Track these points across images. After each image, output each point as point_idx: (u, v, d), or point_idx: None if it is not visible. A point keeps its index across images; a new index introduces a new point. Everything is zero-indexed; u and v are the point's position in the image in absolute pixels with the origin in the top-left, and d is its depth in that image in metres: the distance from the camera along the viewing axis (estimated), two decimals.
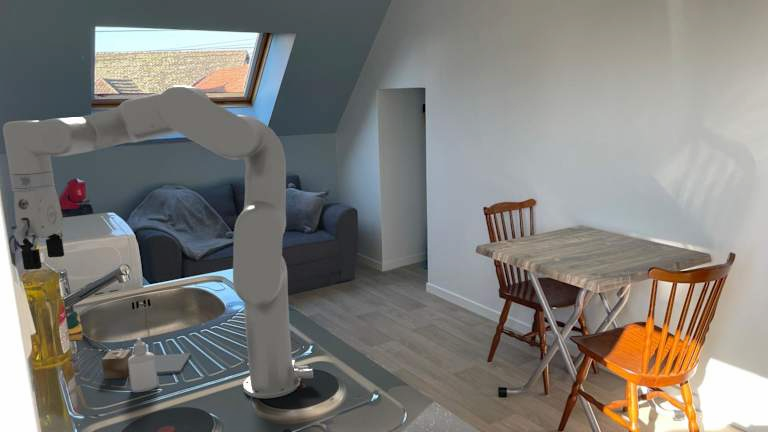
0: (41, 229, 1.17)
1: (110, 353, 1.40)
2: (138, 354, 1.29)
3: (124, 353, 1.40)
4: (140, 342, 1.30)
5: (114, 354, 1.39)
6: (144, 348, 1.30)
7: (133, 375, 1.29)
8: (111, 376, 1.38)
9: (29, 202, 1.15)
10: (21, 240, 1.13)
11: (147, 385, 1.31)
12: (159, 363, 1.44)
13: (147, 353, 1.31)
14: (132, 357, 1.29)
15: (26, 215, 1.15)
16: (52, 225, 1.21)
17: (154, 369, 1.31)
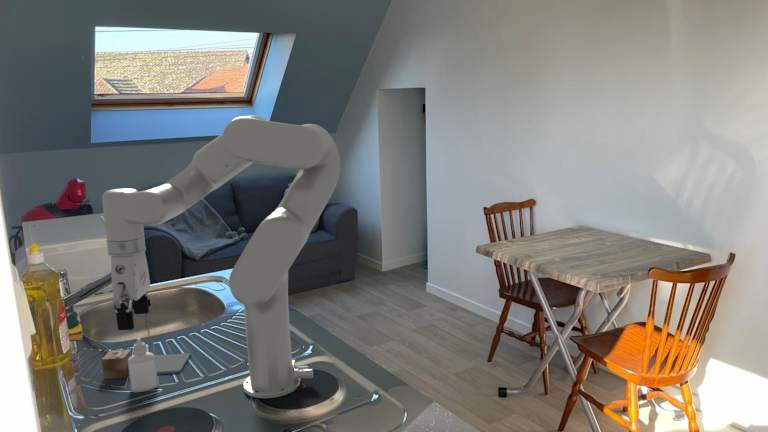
0: (135, 292, 1.23)
1: (110, 353, 1.40)
2: (138, 354, 1.29)
3: (124, 353, 1.40)
4: (140, 342, 1.30)
5: (114, 354, 1.39)
6: (144, 348, 1.30)
7: (133, 375, 1.29)
8: (111, 376, 1.38)
9: (125, 267, 1.22)
10: (119, 304, 1.20)
11: (147, 385, 1.31)
12: (159, 363, 1.44)
13: (147, 353, 1.31)
14: (132, 357, 1.29)
15: (122, 280, 1.22)
16: (143, 287, 1.27)
17: (154, 369, 1.31)
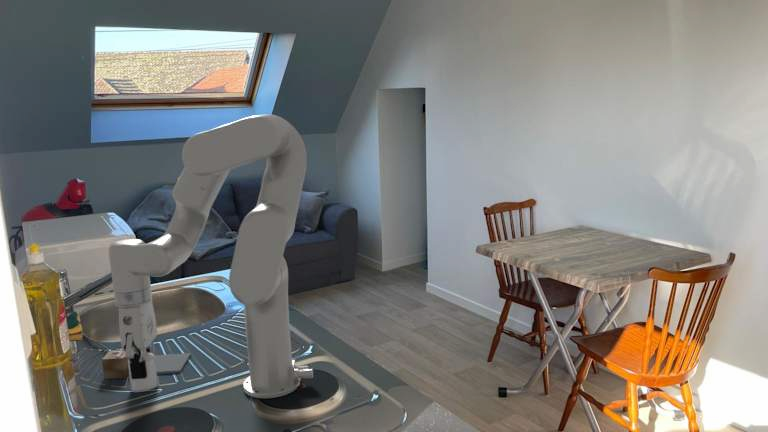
0: (143, 342, 1.25)
1: (110, 353, 1.40)
2: (138, 354, 1.29)
3: (124, 353, 1.40)
4: None
5: (114, 354, 1.39)
6: None
7: None
8: (111, 376, 1.38)
9: (133, 318, 1.24)
10: (132, 358, 1.25)
11: (147, 385, 1.31)
12: (159, 363, 1.44)
13: (147, 353, 1.31)
14: None
15: (130, 330, 1.24)
16: (150, 335, 1.29)
17: (154, 369, 1.31)
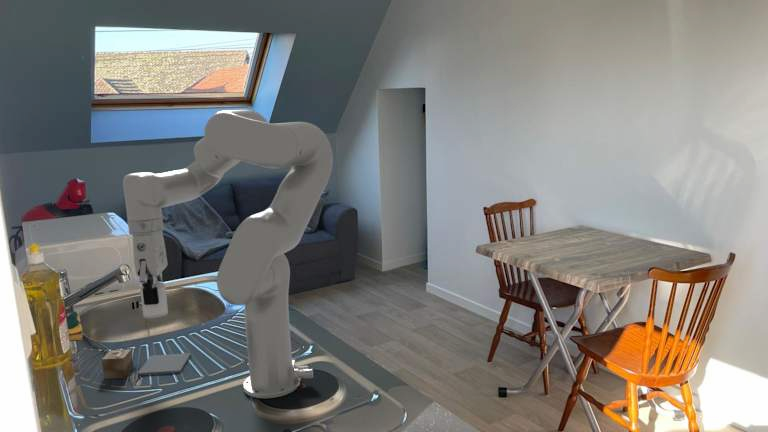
0: (156, 268, 1.33)
1: (110, 353, 1.40)
2: None
3: (124, 353, 1.40)
4: None
5: (114, 354, 1.39)
6: (155, 276, 1.38)
7: None
8: (111, 376, 1.38)
9: (146, 245, 1.32)
10: (146, 283, 1.33)
11: (158, 311, 1.38)
12: (159, 363, 1.44)
13: (158, 281, 1.39)
14: None
15: (144, 256, 1.32)
16: (162, 263, 1.37)
17: (165, 297, 1.39)
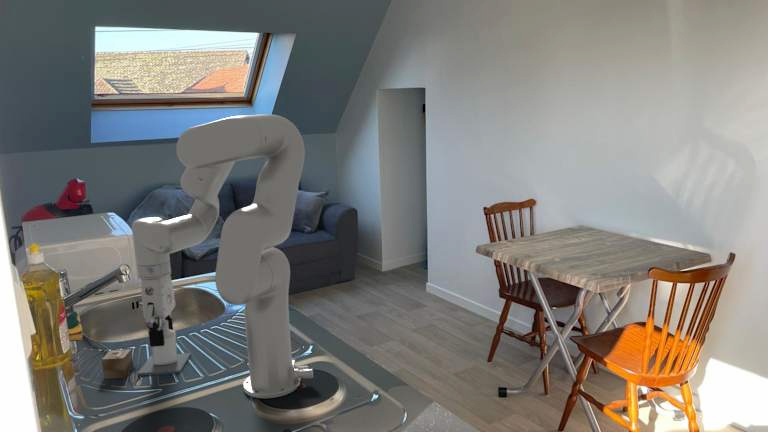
0: (163, 311, 1.37)
1: (110, 353, 1.40)
2: None
3: (124, 353, 1.40)
4: (163, 320, 1.41)
5: (114, 354, 1.39)
6: (167, 325, 1.41)
7: (155, 350, 1.41)
8: (111, 376, 1.38)
9: (154, 289, 1.35)
10: (151, 325, 1.35)
11: (167, 359, 1.42)
12: None
13: (169, 330, 1.42)
14: None
15: (151, 300, 1.36)
16: (169, 305, 1.41)
17: (174, 345, 1.43)
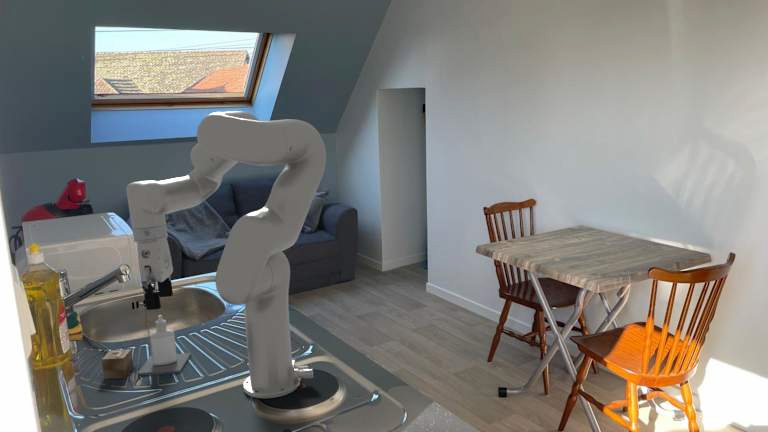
0: (160, 274, 1.35)
1: (110, 353, 1.40)
2: (159, 330, 1.41)
3: (124, 353, 1.40)
4: (161, 319, 1.42)
5: (114, 354, 1.39)
6: (165, 324, 1.42)
7: (155, 349, 1.41)
8: (111, 376, 1.38)
9: (151, 252, 1.34)
10: (146, 285, 1.32)
11: (167, 359, 1.42)
12: None
13: (167, 329, 1.43)
14: (154, 333, 1.41)
15: (148, 263, 1.34)
16: (167, 270, 1.39)
17: (173, 344, 1.43)
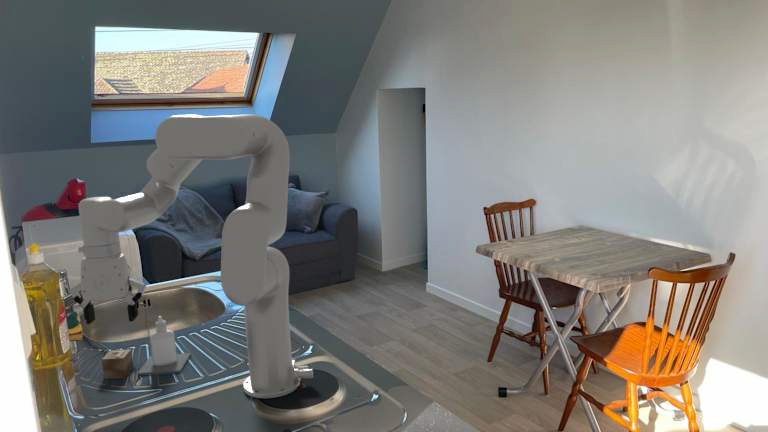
0: (82, 293, 1.34)
1: (110, 353, 1.40)
2: (159, 331, 1.41)
3: (124, 353, 1.40)
4: (161, 320, 1.41)
5: (114, 354, 1.39)
6: (164, 325, 1.42)
7: (155, 350, 1.41)
8: (111, 376, 1.38)
9: None
10: None
11: (167, 359, 1.42)
12: None
13: (167, 330, 1.42)
14: (154, 333, 1.41)
15: None
16: (100, 292, 1.34)
17: (173, 345, 1.43)
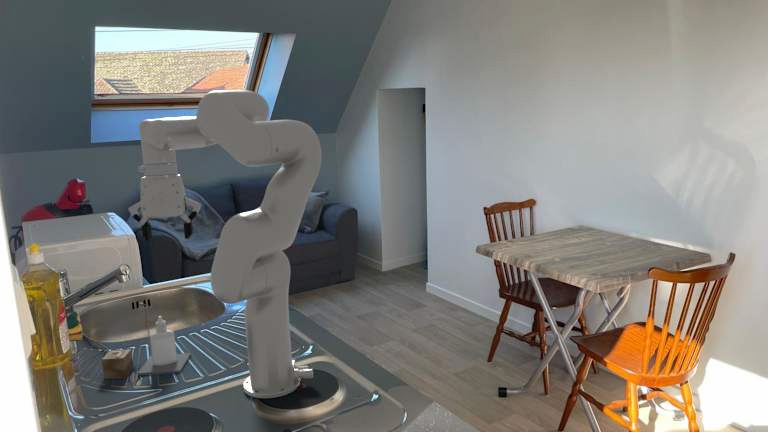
0: (142, 210, 1.41)
1: (110, 353, 1.40)
2: (159, 331, 1.41)
3: (124, 353, 1.40)
4: (161, 320, 1.41)
5: (114, 354, 1.39)
6: (164, 325, 1.42)
7: (155, 350, 1.41)
8: (111, 376, 1.38)
9: None
10: None
11: (167, 359, 1.42)
12: None
13: (167, 330, 1.42)
14: (154, 333, 1.41)
15: None
16: (159, 209, 1.41)
17: (173, 345, 1.43)
